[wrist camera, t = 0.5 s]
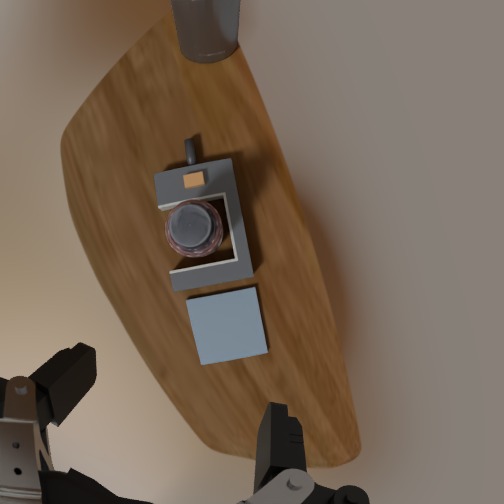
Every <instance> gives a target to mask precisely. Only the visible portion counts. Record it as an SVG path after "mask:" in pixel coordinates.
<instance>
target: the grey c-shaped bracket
mask: <svg viewBox="0 0 504 504" xmlns="http://www.w3.org/2000/svg"><path fill="white" fill-rule="evenodd" d="M184 142H185V149H186V156H187V163H188V166H187V167H182V168H177V169H173V170H168V171H164V172H160V173H155V174H154V179H155V187H156V194H157V201H158V208H159V209H160V210H162V211H164V210H168V209H173V208H174V207H175V206H176V205H178V204H179V203H181V202H183V201H186V200H190V199H198V200H203V201H205V202H207V201H212V200H218V199H223V198H224V203H225V209H226V214H227V220H228V225H229V230H230V235H231V241H232V246H233V251H234V256H235V259H229V260H224V261H219V262H214V263H209V264H204V265H198V266H193V267H188V268H183V269H178V270H173V271H169V272H170V277H171V282H172V286H173V291H174V292H176V291H181V290H187V289H192V288H197V287H203V286H208V285H213V284H219V283H224V282H229V281H234V280H239V279H244V278H249V277H254V275H253V269H252V264H251V259H250V254H249V249H248V243H247V238H246V233H245V228H244V223H243V217H242V212H241V207H240V202H239V197H238V191H237V186H236V181H235V176H234V170H233V165H232V160H231V158H229V159H223V160H217V161H212V162H207V163H202V164H197V161H196V154H195V148H194V141H193V139H186V140H185V141H184Z"/></svg>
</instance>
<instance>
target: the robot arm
mask: <svg viewBox="0 0 504 504" xmlns="http://www.w3.org/2000/svg"><path fill="white" fill-rule="evenodd" d="M171 5H172V11H173V16H174V20H175V25H176V30H177V35H178V40H179V45H180V50H181V52H182V54H183V55H184V56H185V57H186V58H188V59H189V60H191V61H194V62H198V63H213V62H217V61H220V60H223V59H225V58H227V57H228V56H230V55H231V54H232V53H233V52H234V50H235V49H236V47H237V39H238V26H239V12H240V0H171ZM96 376H97V370H96V351H95V349H94V348H93V347H90V346H88V345H86V344H84V343H81V342H80V343H78V344H77V345H75V346H74V347H73V348H72V349H70V348H66V349H64V350H61V351H59V352H57V353H56V354H55V355H54V356H53V357H52V358H50V359H49V360H48V361H47V362H45V363H44V364H43V365H42V366H41V367H40V368H38V369H37V370H36V371H35V372H34V373H33V374H31V375H30V376H29V377H24V376H16V377H13V378H11V379H10V380H7V379H4V378H1V377H0V504H153V503H150V502H146V501H139V500H132V499H127V498H122V497H118V496H116V495H115V494H113V493H112V492H110V491H109V490H108V489H106V488H105V487H103V486H102V485H101V484H99V483H98V482H97V481H95V480H94V479H92V478H90V477H88V476H86V475H84V474H82V473H80V472H78V471H76V470H74V469H72V468H70V470H69V472H68V473H65V472H61V471H55V470H54V467H53V464H52V459H51V453H50V446H49V438H48V429H47V425H48V424H49V423H50V422H51V423H52V424H54V425H56V426H57V427H59V425H60V424H61V423H62V422H63V420H64V419H65V418H66V417H67V416H68V415H69V413H70V412H71V411H72V410H73V409H74V407H75V406H76V405H77V404H78V403H79V401H80V400H81V399H82V398H83V397H84V396H85V394H86V393H87V392H88V391H89V390H90V388H91V387H92V386H93V385H94V383H95V380H96ZM303 443H304V440H303V431H302V426H301V424H300V422H299V421H298V419H297V418H296V417H289V416H288V408H287V405H285V404H279V403H274V402H269V404H268V406H267V409H266V412H265V414H264V417H263V419H262V422H261V424H260V427H259V431H258V437H257V451H256V466H255V480H254V494H253V496H251V497H250V498H249V499H247V500H246V501H240V502H238V503H237V504H370V503H369V498H368V495H367V494H366V492H365V491H364V490H362V489H361V488H359V487H357V486H351V485H347V486H343V487H341V488H339V489H338V490H334V489H330V488H327V487H323V486H320V485H318V484H316V483H315V482H314V481H313V479H312V477H311V476H310V475H309V474H308V473H307V470H306V460H305V450H304V444H303Z"/></svg>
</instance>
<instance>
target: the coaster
mask: <svg viewBox="0 0 504 504" xmlns="http://www.w3.org/2000/svg"><path fill="white" fill-rule="evenodd" d="M186 303H187V308H188V312H189V316H190V321H191V325H192V329H193V333H194V338H195V342H196V346H197V350H198V354H199V357H200V361H201V365H204V364H210V363H216V362H222V361H228V360H233V359H239V358H244V357H249V356H254V355H259V354H263V353H268V351H267V346H266V341H265V335H264V330H263V325H262V320H261V315H260V310H259V305H258V300H257V294H256V289H255V287H251V288H246V289H240V290H235V291H230V292H225V293H220V294H215V295H209V296H204V297H198V298H193V299H187V300H186Z"/></svg>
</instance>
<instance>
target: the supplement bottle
mask: <svg viewBox="0 0 504 504" xmlns="http://www.w3.org/2000/svg"><path fill="white" fill-rule="evenodd" d="M165 234H166V237H167V240H168V242H169V244H170V246H171V247H172V248H173V249H174V250H175V251H176V252H178V253H179V254H181V255H183V256H186V257H194V258H195V257H203V256H207V255H210V254H212V253H213V252H214V251H217V249H218V247H219V246H220V244H221V242H222V239H223V225H222V221H221V217H220V215H219V213H218V212H217V210H216V209H215V208H214V207H213V206H212V205H211V204H209V203H207V202H205V201H203V200H198V199H190V200H186V201H183V202H181V203H179V204H178V205H176V206H175V207H174V208H173V209H172V210H171V212H170V213H169V215H168V217H167V220H166V224H165Z"/></svg>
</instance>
